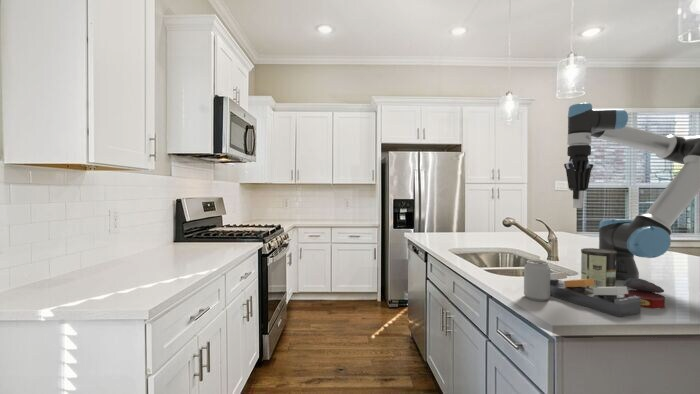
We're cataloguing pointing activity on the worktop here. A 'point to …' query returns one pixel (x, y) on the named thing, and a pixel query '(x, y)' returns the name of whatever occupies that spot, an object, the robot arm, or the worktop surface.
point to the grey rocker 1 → (558, 275)
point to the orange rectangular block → (579, 283)
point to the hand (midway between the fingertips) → (577, 207)
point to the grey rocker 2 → (610, 290)
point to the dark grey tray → (596, 299)
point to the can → (537, 280)
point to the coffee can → (599, 267)
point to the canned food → (645, 292)
